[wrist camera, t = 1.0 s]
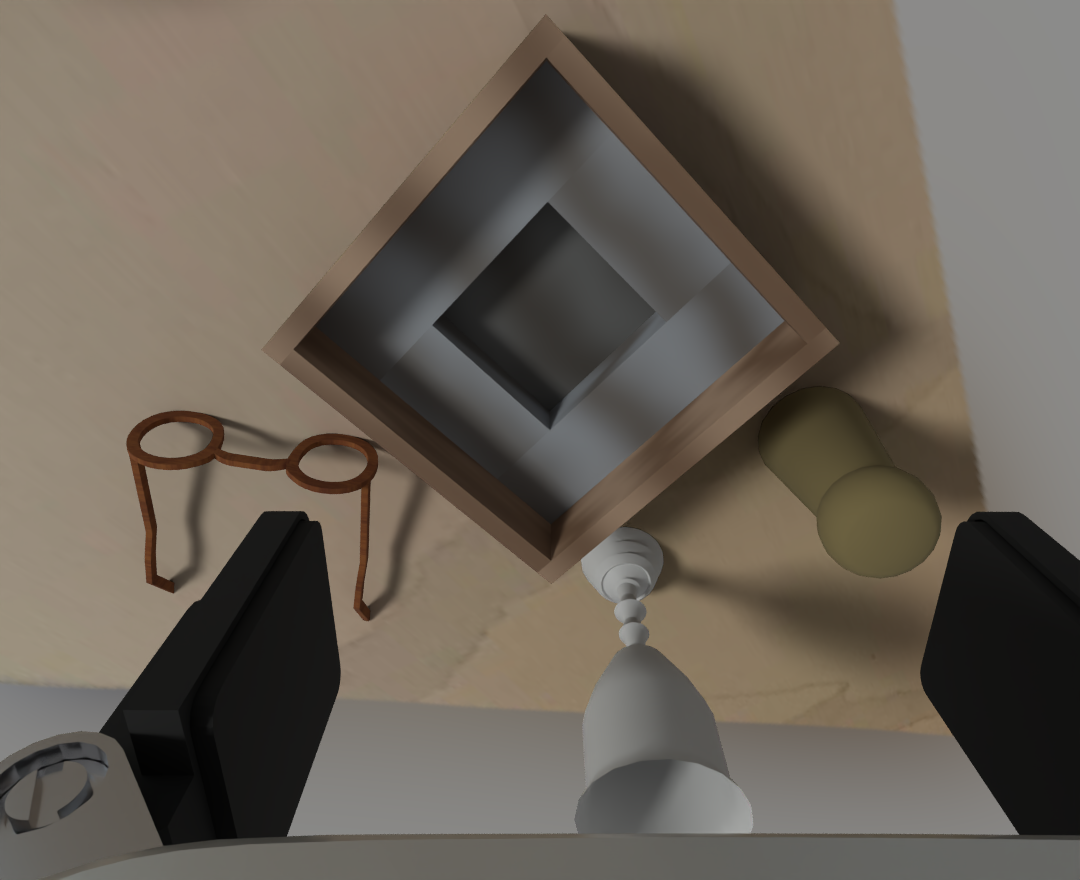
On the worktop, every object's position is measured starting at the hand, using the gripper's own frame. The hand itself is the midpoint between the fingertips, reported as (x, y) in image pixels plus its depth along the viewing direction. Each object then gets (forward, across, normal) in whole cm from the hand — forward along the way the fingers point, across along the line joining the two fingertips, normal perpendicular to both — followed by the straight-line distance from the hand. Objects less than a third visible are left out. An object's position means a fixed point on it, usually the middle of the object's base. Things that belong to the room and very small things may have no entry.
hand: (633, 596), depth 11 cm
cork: (+30, -14, +10) cm, 34 cm away
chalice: (+30, -4, +19) cm, 36 cm away
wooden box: (+29, +1, +2) cm, 30 cm away
